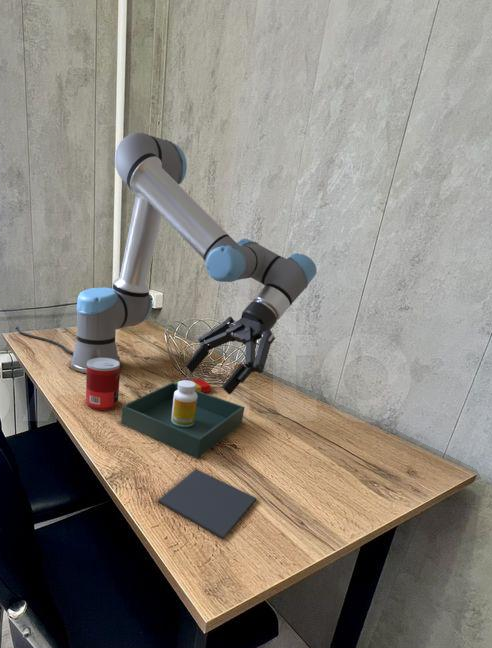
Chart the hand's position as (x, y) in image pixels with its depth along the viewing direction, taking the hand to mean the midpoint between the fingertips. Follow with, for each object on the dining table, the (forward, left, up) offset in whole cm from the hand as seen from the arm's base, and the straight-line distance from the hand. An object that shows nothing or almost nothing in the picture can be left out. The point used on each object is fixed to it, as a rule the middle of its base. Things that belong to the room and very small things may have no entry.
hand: (206, 379), depth 91 cm
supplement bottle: (-2, -5, -10) cm, 11 cm away
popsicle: (-12, +11, -11) cm, 20 cm away
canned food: (-22, -11, -11) cm, 27 cm away
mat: (+16, -25, -10) cm, 31 cm away
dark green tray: (-2, -5, -10) cm, 12 cm away
